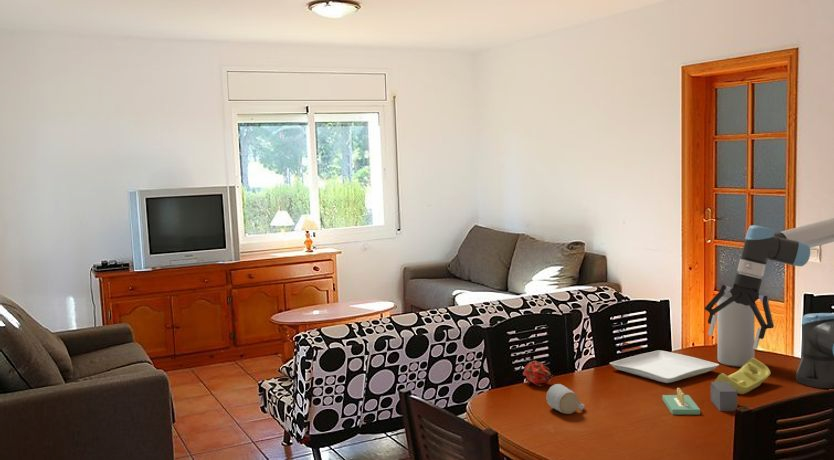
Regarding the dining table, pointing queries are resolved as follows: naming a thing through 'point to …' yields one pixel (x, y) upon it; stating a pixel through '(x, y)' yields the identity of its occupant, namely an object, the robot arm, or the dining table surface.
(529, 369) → the dragon fruit
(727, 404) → the plug housing
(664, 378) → the square plate
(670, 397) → the header board
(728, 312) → the cylinder vase
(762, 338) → the robot arm
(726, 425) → the dining table surface
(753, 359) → the plastic component
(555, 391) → the ceramic mug
